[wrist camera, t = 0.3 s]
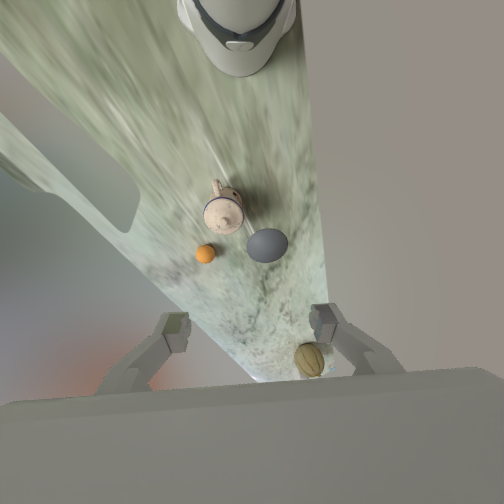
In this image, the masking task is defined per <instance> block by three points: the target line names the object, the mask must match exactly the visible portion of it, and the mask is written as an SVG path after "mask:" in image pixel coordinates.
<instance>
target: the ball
mask: <svg viewBox="0 0 504 504" xmlns="http://www.w3.org/2000/svg"><path fill="white" fill-rule="evenodd" d="M196 257H197V259H198V260H199V261H200V262H201V263H210V262H211V261H212V260H213V259H214V257H215V252H214V250H213V248H212V247H210V246H208V245H203V246H201V247H199V248H198V249H197V252H196Z"/></svg>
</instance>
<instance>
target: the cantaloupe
mask: <svg viewBox="0 0 504 504" xmlns="http://www.w3.org/2000/svg"><path fill="white" fill-rule="evenodd" d="M294 361H295V364H296V366H297V368H298V370H299V371H300V372H301V373H302V374H303V375H305V376H307V377H315V376H318V377H320V376H321V375H319V374H320V373H321V372H322V371H323V369H324V358H323V355H322V353H321V352H320V350H319V349H318V348H317V347H315V346H314V345H311V344H304V345H301V346H300V347H299V348H298V349H297V350H296V352H295V354H294Z"/></svg>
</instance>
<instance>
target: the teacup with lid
mask: <svg viewBox="0 0 504 504" xmlns="http://www.w3.org/2000/svg"><path fill="white" fill-rule="evenodd" d="M213 189H214V192H213V193H212V195H211V197H210V199H209V202H208V204H207V205H206V207H205V209H204V220H205V222H206V224H207V226H208V227H209V228H210V229H211V230H212V231H214V232H216V233H218V234H223V235H226V234H231V233H234V232H236V231H237V230H238V229H239V228H240V227H241V225H242V224H243V220H244V213H243V209H242V200H241V197H240V195H239V194H238V193H237V192H236V191H235V190H233V189H231V188H227V187H223V188H222V186H221V183H220V181H219V180H218V179H215V180H213Z"/></svg>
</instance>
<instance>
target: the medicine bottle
mask: <svg viewBox="0 0 504 504" xmlns="http://www.w3.org/2000/svg"><path fill="white" fill-rule="evenodd" d="M291 373H292V377H293V380H305V379H309V377H307V376H305V375H303V374H302V373H301V372H300V371H299V370H298V368H297V366H296V367H295V368H293V369H292V370H291Z"/></svg>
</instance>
